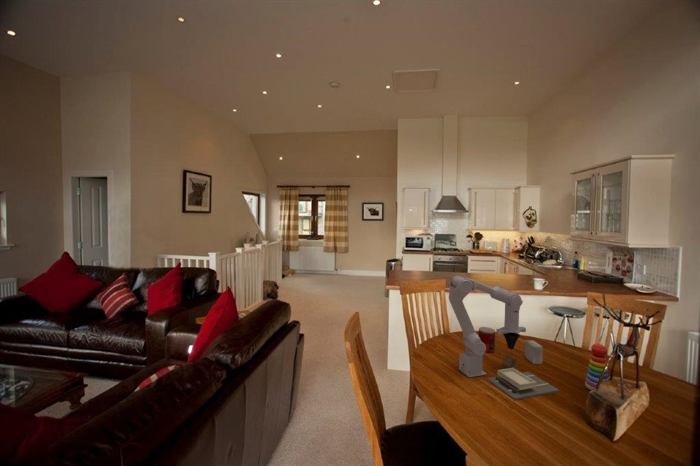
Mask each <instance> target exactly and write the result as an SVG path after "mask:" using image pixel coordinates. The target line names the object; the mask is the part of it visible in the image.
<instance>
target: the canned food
mask: <svg viewBox="0 0 700 466" xmlns="http://www.w3.org/2000/svg"><path fill="white" fill-rule="evenodd" d="M478 336H479V338H480V339H481V341H482V342H483V343H484V344H485V346H486V351H485V353H488V354H492V353H494V352H495V349H496V348H495V347H496V330H495V329H494V328H491V327H487V326H481V327H479V328H478Z"/></svg>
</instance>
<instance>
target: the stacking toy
mask: <svg viewBox="0 0 700 466" xmlns="http://www.w3.org/2000/svg"><path fill="white" fill-rule="evenodd" d="M590 351H591V353H592V354H591V355H590V359H589V361H588V362H589V364H588V369H587V373H586V377H585V381H584V386H585V387H586V388H587V389H588V390H590V391H592V389H593V388H595V387H596V385H597V384H598V381H599V378H600V375H601V373H602V371H603V369H604V367H605V365H606V364H607V357H606V355H607V354H608V348H607V347H606V346H605V345H603V344H602V343H594V344H592V345H591V347H590ZM608 369H609V368H607V370H606V371H605V373H604V376H603V381H605V380H608V379H609V373H608V371H609V370H608ZM609 380H610V379H609Z"/></svg>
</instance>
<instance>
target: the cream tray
mask: <svg viewBox="0 0 700 466" xmlns="http://www.w3.org/2000/svg"><path fill="white" fill-rule="evenodd" d="M522 373H523V372H521V371H519V370H518V369H517V368H516V369H514V368H508V369H497V373H496V374H497V376H500V377H502V378H503V379H504V380H506V381H508V382H509V383H511V384H512V385H514V386H515V387H516V388H518V389H520V390H522V389H528V388H534V387H536V385H537V382H536V381H534V380H532V379H531V378H529V377H527V376H526V375H524V374H522Z"/></svg>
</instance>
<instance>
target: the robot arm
mask: <svg viewBox="0 0 700 466" xmlns="http://www.w3.org/2000/svg"><path fill="white" fill-rule="evenodd" d="M448 286H449V287H448V288H449V290H448V291H449V292H448V293H449V294H448V300H449V303H450V305H451V307H452V310H453V313H454V314H455V317H456V319H457V321H458V324H459V326H460V329H461V331H462V338H463V341H462V342H463V345H464V346H465V351H463V353H460V354H459V357H458V358H459V361H458V362H459V363H458V365H459V367H457V370H459V371H460V372H461V373H463V374H464V375H465V376H467V377H468V378H472V377H473V378H474V377H480V376H486V375H487V372H485V371H484V370H483V357H484V354H485V353H486V352H485V351H486V346H485V344H484V343H483V342H482V341H481V339H480V338H479V334H478V333H477V331H476V329H475V328H474V326H473V323H472V321H471V318H470V316H469V313H468V310H467V308H466V307H465V304H464V301H463V300H464V299H465V297H467V296H469V294H470V293H471V292H475V291H476V290H477V291H481V292H484V293H486V294H489V296H490V297H491V298H492V299H494V300H495V301H499V302H502V303H504V326H503V327H500V328H496V330H495V334H497V335H499V336H501V335H503V336H504V339H505V341H506V345H507V348H508V349H509V350H514V348H515V345H516V344H517V343H516V342H517V341H518V339H519V338H520V336H521V334H520V333H526V331H527V329H526V327H524V326H519V324H520V309H521V306H522V305H523V303H524V301H523V300H522V297H521V296H520V294H517V293H514V292H512V290H510V289H508V290H507V289H505V288H503V286H501V285H498V286H497V285H495V286H489V285H487V284H484V283H483V282H480V281H478V280H476V279H472V278H469V277H466V276H461V275H454V276H453V277H451V279H450V281H449V282H448Z"/></svg>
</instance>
